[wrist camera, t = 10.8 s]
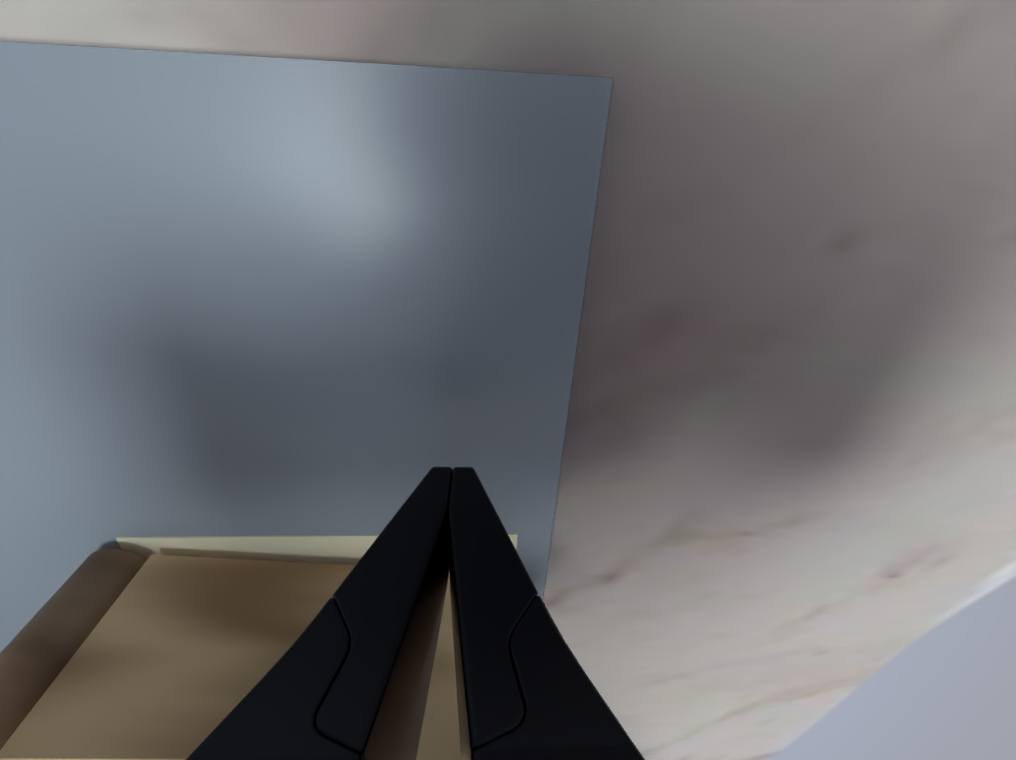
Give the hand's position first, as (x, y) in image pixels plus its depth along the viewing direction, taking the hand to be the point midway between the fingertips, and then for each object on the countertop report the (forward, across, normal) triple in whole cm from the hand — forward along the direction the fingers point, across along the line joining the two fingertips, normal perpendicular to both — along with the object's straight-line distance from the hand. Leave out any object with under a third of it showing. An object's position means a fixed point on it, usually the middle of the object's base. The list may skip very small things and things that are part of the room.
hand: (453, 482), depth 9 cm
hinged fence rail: (+2, +4, +5) cm, 7 cm away
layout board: (+2, +6, +3) cm, 7 cm away
